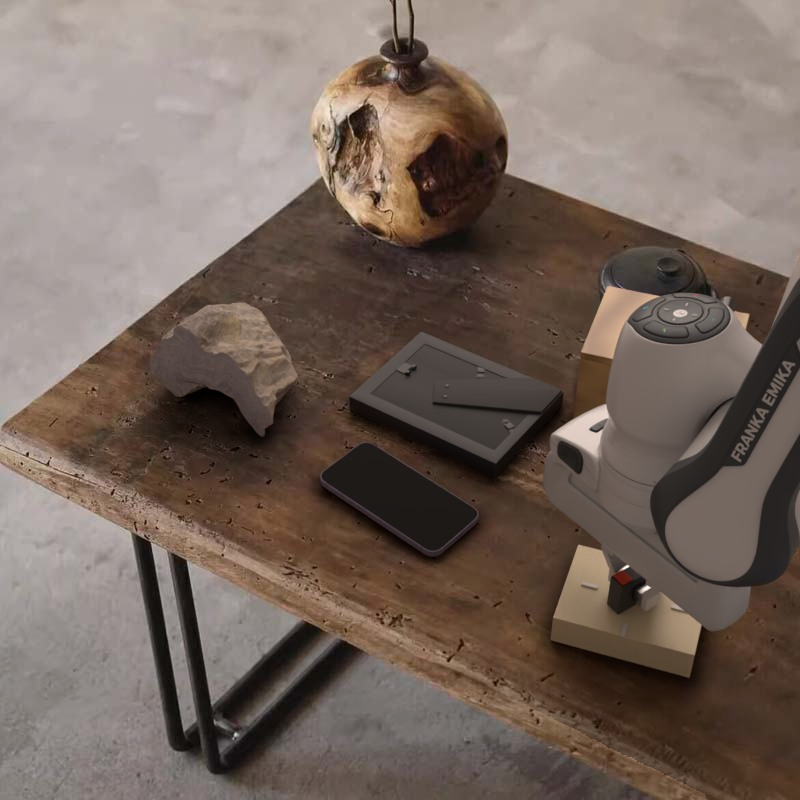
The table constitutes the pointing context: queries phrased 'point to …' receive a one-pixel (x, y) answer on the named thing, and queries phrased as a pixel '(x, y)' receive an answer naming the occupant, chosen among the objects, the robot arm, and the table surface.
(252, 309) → the rock
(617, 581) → the black red-tipped block
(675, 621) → the plate
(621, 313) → the chest lid
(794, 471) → the robot arm
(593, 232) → the table surface
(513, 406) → the picture frame
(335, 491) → the smartphone
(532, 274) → the table surface
